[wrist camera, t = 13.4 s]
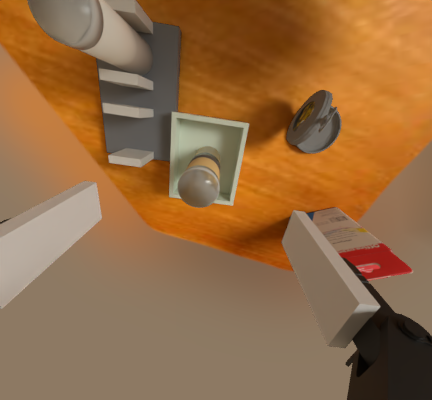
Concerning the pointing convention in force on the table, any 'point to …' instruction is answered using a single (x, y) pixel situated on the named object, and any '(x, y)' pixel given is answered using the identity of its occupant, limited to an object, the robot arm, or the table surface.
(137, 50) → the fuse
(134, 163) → the fuse board
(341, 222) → the ink box
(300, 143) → the pocket watch
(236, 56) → the table surface
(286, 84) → the table surface
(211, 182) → the cylinder
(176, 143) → the parts tray
